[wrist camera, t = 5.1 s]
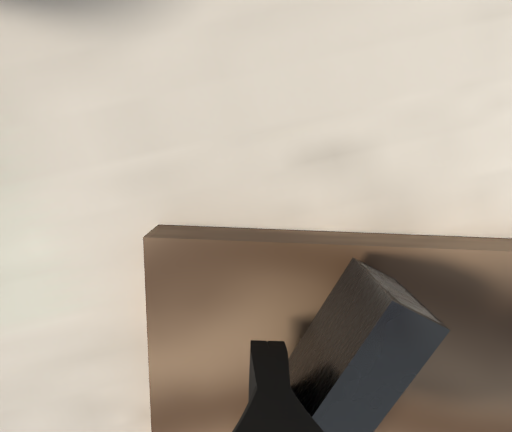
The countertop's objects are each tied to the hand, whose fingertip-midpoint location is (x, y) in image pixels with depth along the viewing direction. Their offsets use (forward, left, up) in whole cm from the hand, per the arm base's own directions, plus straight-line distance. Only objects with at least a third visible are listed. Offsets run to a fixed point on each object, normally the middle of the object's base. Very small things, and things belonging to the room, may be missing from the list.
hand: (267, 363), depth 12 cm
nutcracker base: (-5, -4, -4) cm, 7 cm away
